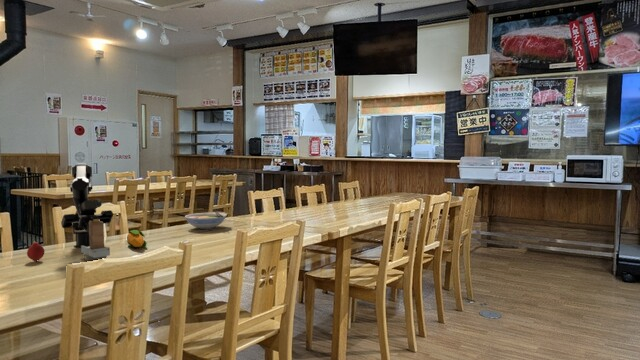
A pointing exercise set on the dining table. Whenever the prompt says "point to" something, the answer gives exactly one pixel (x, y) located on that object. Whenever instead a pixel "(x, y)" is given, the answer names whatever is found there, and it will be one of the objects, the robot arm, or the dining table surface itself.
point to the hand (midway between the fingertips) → (93, 234)
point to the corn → (136, 239)
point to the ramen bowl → (205, 220)
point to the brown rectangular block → (96, 234)
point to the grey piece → (95, 252)
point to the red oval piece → (35, 251)
